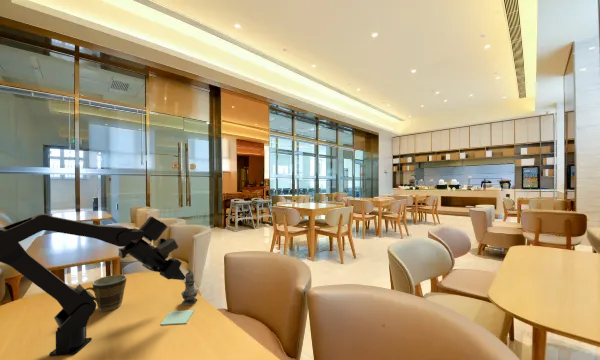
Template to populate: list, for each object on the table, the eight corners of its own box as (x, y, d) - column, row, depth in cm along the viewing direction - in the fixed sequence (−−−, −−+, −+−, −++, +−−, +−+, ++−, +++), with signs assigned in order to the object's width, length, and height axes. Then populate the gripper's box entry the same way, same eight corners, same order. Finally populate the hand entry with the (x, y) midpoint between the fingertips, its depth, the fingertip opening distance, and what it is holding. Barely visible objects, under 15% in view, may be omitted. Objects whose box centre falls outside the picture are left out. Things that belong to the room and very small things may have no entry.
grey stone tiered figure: (191, 306, 93) (191, 273, 93) (177, 304, 95) (177, 272, 95) (201, 298, 99) (201, 267, 99) (187, 297, 100) (187, 266, 100)
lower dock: (186, 323, 82) (186, 322, 82) (160, 325, 81) (160, 324, 81) (194, 310, 90) (194, 310, 90) (170, 312, 89) (170, 311, 89)
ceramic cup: (118, 298, 100) (118, 272, 100) (132, 304, 95) (131, 277, 95) (76, 313, 89) (76, 284, 89) (89, 321, 84) (89, 290, 84)
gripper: (175, 236, 83) (206, 261, 92) (151, 229, 95) (180, 252, 104) (149, 266, 77) (185, 290, 86) (127, 255, 89) (160, 277, 98)
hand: (178, 275), depth 94 cm, fingers open, 9 cm apart
